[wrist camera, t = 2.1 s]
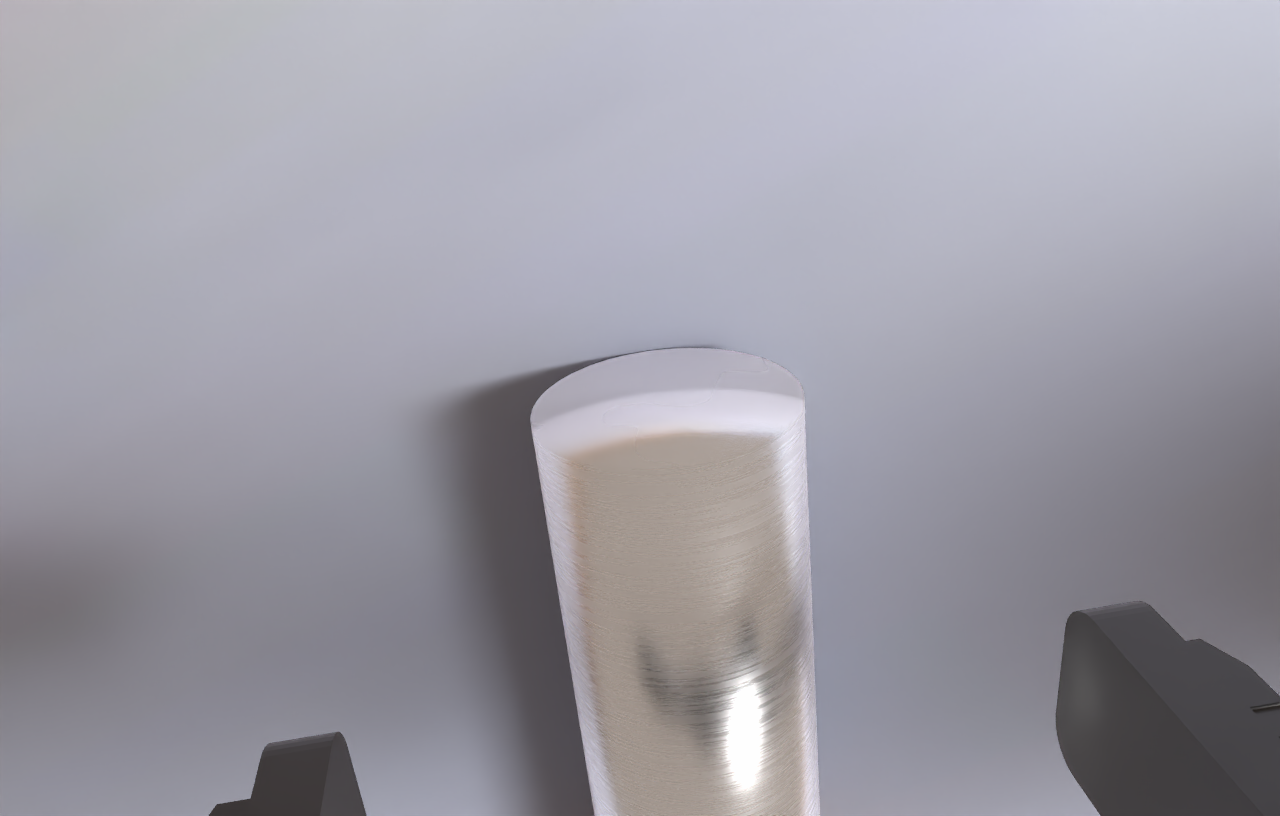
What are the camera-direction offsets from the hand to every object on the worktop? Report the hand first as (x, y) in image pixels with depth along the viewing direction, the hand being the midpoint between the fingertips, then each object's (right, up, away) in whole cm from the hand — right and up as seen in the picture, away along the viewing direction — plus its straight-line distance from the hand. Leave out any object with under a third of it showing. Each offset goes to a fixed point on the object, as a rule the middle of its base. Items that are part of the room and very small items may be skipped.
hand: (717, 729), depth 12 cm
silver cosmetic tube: (0, -3, +9) cm, 10 cm away
